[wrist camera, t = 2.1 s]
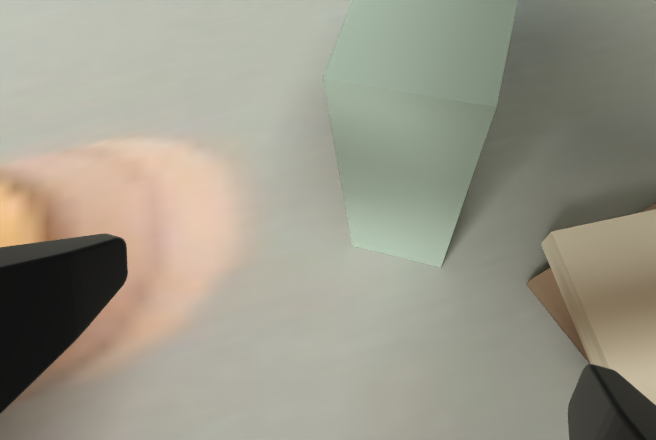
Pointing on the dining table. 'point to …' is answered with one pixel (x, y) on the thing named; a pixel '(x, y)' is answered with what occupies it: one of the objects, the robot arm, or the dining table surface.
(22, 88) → the dining table surface
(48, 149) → the dining table surface
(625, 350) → the slab top
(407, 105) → the post
